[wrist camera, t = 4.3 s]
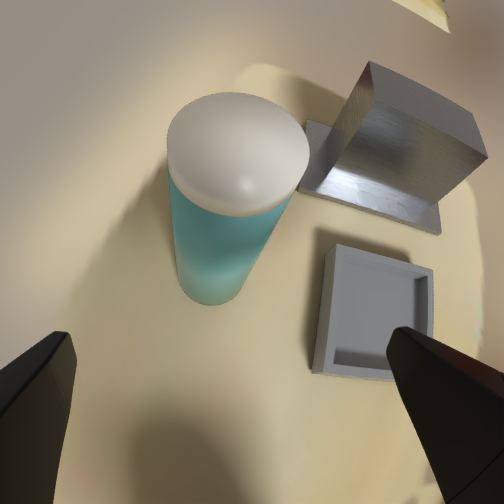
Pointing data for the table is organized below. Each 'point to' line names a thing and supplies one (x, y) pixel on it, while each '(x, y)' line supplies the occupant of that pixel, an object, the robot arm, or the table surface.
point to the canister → (229, 187)
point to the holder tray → (368, 311)
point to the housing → (393, 150)
